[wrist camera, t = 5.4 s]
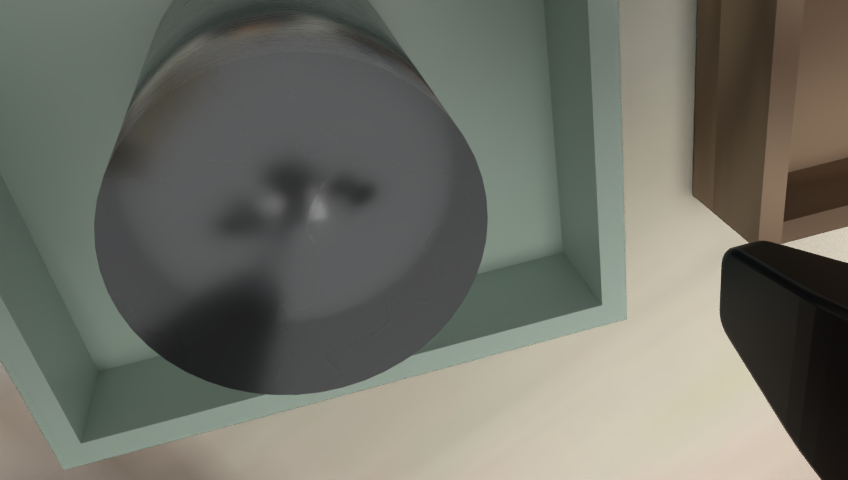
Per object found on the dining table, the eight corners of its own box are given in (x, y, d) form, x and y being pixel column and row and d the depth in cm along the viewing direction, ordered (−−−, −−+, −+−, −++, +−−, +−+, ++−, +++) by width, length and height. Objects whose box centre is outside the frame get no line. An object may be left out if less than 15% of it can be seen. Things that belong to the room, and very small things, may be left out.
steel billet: (415, 165, 18) (505, 343, 12) (193, 218, 17) (171, 433, 11) (373, -69, 15) (462, 10, 9) (109, -14, 15) (23, 106, 9)
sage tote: (578, 256, 21) (627, 319, 18) (86, 383, 19) (63, 470, 17) (540, -346, 14) (608, -382, 11) (-220, -215, 13) (-334, -222, 10)
